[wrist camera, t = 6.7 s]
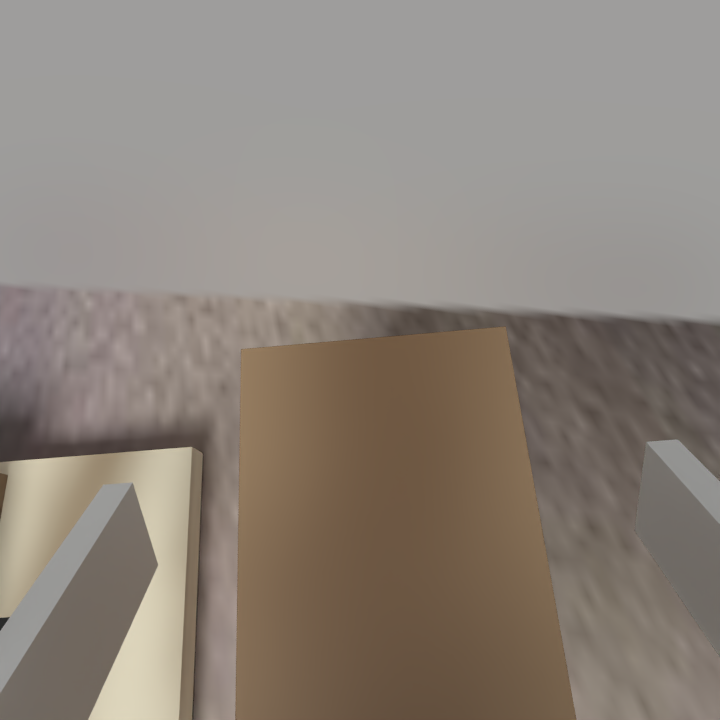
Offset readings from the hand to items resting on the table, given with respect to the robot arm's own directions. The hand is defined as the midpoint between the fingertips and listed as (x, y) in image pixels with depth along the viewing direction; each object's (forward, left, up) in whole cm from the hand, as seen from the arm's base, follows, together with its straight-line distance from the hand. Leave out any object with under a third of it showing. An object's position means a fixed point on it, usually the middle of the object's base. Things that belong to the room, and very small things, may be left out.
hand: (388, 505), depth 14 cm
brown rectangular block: (0, +2, -6) cm, 6 cm away
